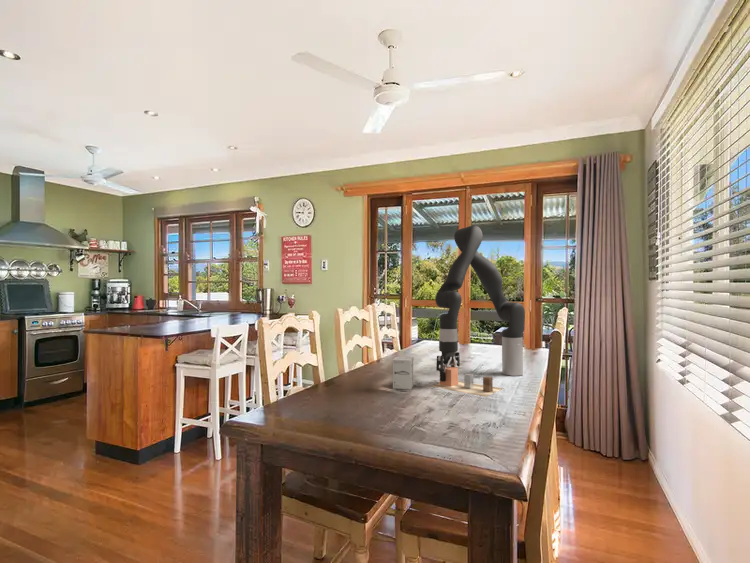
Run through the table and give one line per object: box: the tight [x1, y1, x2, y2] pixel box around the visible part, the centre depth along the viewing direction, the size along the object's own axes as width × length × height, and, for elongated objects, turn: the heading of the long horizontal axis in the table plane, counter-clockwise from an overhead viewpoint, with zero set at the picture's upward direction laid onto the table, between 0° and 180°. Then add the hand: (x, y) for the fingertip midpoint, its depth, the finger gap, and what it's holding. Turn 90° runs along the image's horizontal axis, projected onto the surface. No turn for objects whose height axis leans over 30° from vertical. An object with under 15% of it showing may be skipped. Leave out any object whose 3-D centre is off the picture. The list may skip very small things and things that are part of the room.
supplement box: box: [392, 356, 414, 393], centre depth 165 cm, size 7×7×13 cm
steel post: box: [463, 373, 474, 389], centre depth 163 cm, size 3×3×5 cm
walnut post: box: [482, 376, 494, 392], centre depth 157 cm, size 3×3×5 cm
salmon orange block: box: [439, 365, 459, 386], centre depth 169 cm, size 5×5×7 cm
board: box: [431, 380, 504, 398], centre depth 163 cm, size 15×24×1 cm, turn 49°
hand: (448, 379), depth 169 cm, fingers open, 8 cm apart
